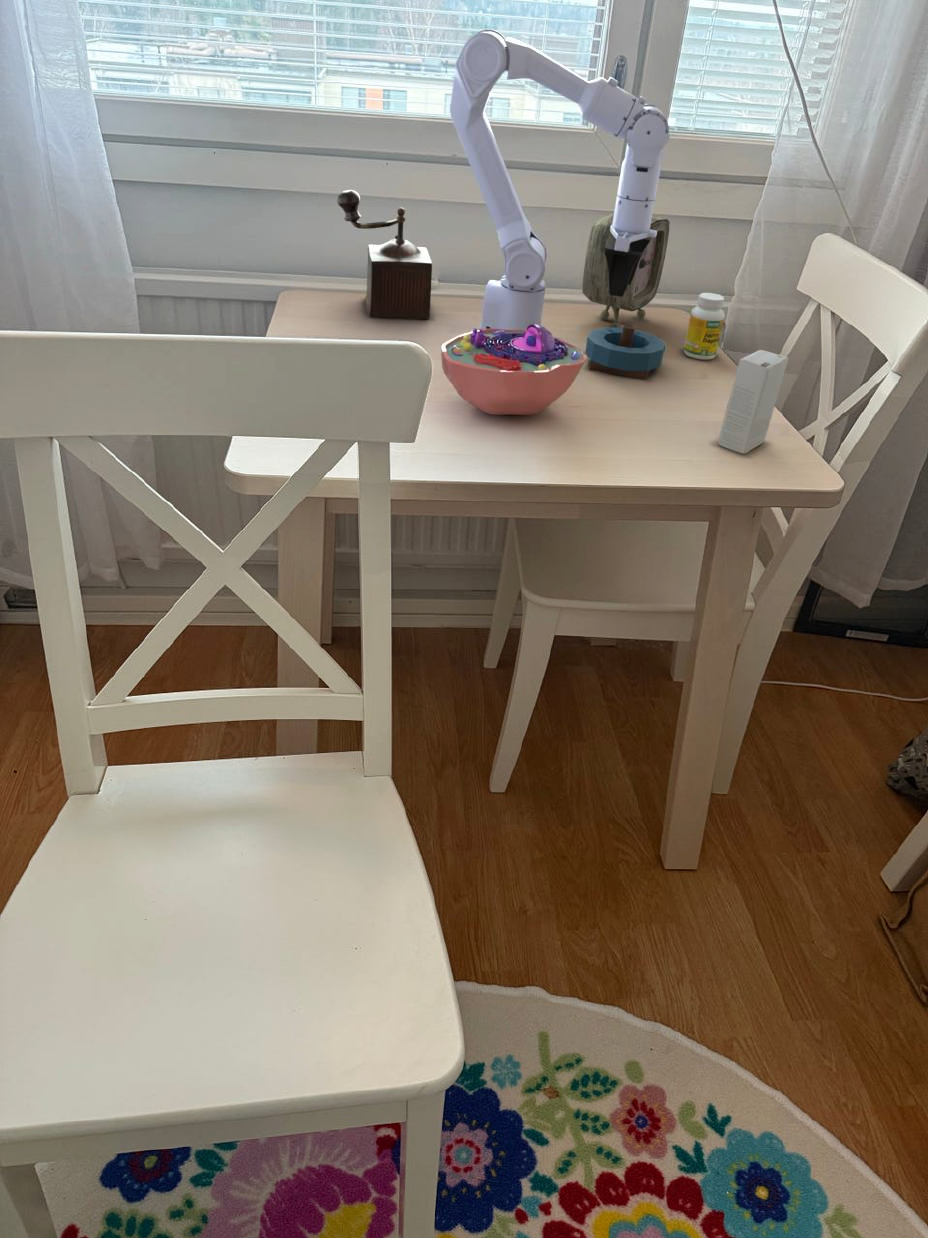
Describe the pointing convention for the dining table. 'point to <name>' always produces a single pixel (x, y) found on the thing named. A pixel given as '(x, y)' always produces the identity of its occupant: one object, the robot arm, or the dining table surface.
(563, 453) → the dining table surface
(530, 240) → the robot arm
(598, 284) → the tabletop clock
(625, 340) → the peg stand
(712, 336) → the supplement bottle
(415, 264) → the manual coffee grinder
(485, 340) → the cell model
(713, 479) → the dining table surface
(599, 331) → the ring
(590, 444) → the dining table surface
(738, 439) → the cosmetic box
